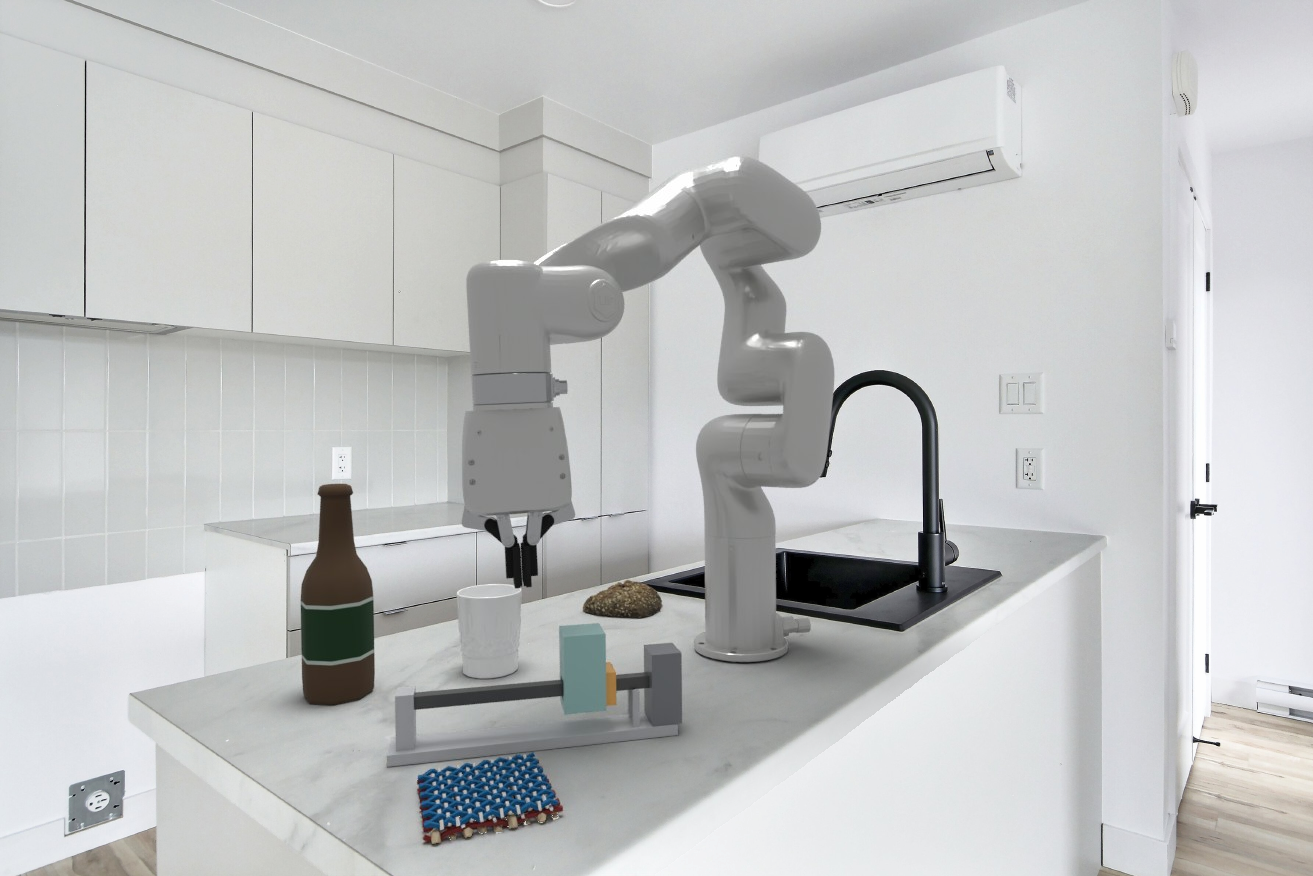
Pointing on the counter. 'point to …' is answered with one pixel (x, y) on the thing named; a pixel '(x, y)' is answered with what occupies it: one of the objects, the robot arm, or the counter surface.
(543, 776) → the woven mat
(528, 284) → the robot arm
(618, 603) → the bread roll
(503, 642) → the white cup
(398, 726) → the teal block rod stand
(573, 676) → the teal sliding block
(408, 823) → the counter surface
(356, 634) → the beer bottle
